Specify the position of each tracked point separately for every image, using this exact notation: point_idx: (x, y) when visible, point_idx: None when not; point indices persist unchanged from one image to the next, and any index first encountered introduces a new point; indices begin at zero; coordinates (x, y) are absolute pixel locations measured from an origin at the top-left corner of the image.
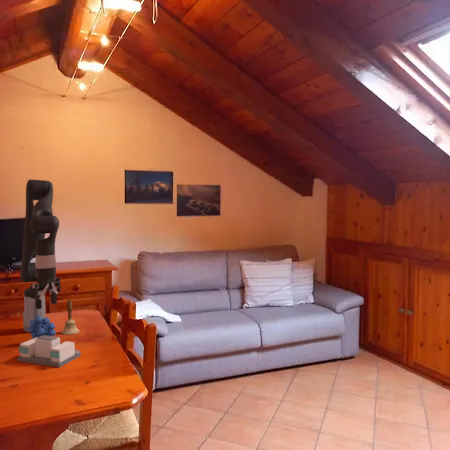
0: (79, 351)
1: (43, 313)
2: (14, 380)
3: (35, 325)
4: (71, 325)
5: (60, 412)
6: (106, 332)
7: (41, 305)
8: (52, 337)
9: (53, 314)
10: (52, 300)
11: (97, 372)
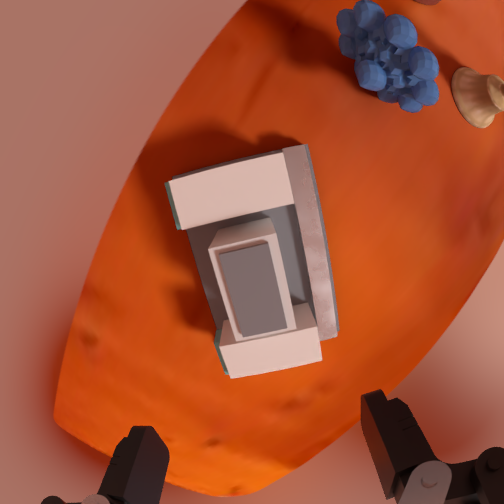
0: (335, 334)
1: None
2: (97, 315)
3: (368, 36)
4: (489, 108)
5: None
6: None
7: (161, 475)
8: (268, 314)
9: None
10: (370, 428)
11: (263, 430)
